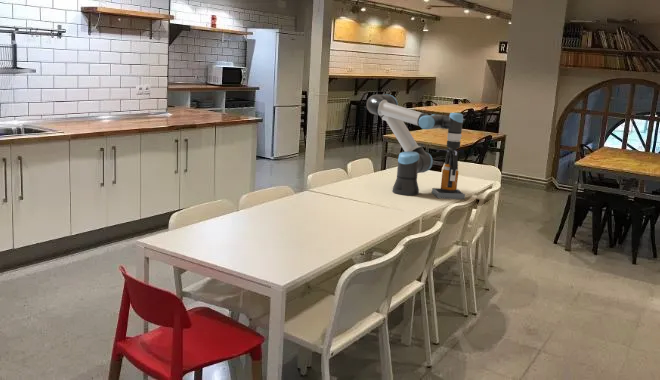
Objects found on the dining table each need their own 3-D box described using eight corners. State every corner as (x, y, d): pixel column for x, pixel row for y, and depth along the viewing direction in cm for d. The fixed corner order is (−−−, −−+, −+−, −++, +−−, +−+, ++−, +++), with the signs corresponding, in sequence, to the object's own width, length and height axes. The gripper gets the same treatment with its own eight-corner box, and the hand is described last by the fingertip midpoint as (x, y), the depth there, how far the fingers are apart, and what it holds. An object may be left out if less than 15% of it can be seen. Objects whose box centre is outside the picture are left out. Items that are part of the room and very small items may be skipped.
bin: (437, 198, 348) (438, 192, 348) (431, 193, 361) (432, 188, 361) (464, 199, 350) (465, 194, 349) (457, 194, 363) (458, 189, 362)
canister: (455, 191, 360) (459, 157, 356) (457, 195, 349) (461, 160, 345) (439, 190, 361) (443, 156, 357) (441, 193, 350) (445, 159, 346)
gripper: (466, 143, 338) (461, 183, 343) (454, 138, 361) (450, 175, 365) (453, 142, 338) (448, 182, 342) (441, 137, 360) (438, 175, 364)
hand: (449, 179), depth 354 cm, fingers closed on canister, 10 cm apart
